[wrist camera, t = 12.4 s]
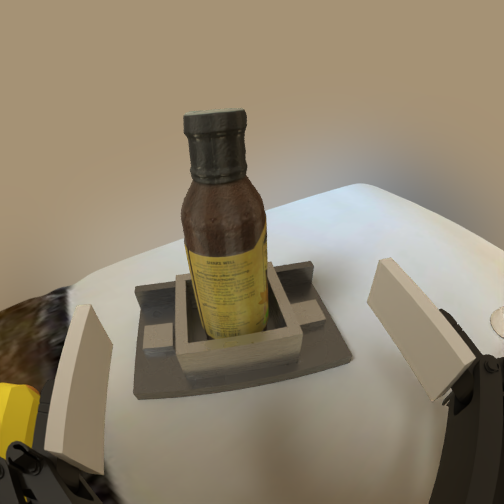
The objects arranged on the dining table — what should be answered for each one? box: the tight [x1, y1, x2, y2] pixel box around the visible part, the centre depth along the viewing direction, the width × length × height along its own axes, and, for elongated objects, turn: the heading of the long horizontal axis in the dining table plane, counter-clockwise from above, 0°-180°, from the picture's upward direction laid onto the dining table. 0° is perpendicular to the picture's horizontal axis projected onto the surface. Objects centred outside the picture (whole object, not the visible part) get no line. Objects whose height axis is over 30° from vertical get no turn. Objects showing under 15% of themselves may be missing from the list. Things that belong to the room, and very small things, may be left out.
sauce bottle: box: [181, 108, 269, 340], centre depth 21 cm, size 6×6×20 cm
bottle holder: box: [133, 261, 352, 400], centre depth 26 cm, size 20×12×5 cm, turn 102°
